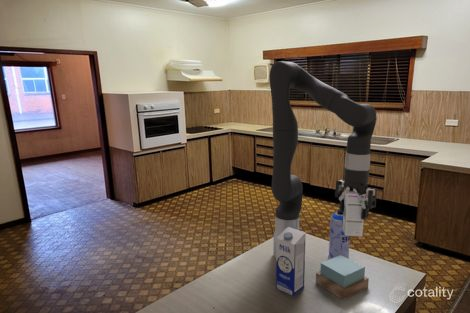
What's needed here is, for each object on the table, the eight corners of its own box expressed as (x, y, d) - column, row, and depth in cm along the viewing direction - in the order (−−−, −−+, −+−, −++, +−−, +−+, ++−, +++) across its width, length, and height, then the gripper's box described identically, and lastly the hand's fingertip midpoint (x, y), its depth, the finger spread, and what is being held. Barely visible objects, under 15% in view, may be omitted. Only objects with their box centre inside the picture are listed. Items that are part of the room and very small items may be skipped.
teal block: (320, 273, 113) (320, 262, 112) (340, 265, 118) (340, 254, 117) (343, 287, 105) (344, 276, 104) (364, 278, 110) (364, 267, 109)
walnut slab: (315, 283, 114) (316, 272, 114) (339, 273, 121) (340, 263, 120) (343, 301, 104) (344, 289, 104) (367, 289, 110) (368, 278, 110)
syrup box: (362, 237, 107) (366, 194, 104) (343, 235, 108) (347, 192, 105) (359, 229, 112) (363, 188, 110) (341, 228, 114) (344, 187, 111)
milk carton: (304, 287, 111) (306, 231, 107) (293, 296, 106) (294, 238, 102) (286, 280, 116) (287, 226, 112) (275, 288, 111) (276, 232, 107)
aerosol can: (339, 265, 125) (342, 215, 121) (323, 256, 132) (325, 209, 128) (353, 259, 129) (356, 210, 126) (337, 251, 136) (339, 205, 132)
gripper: (331, 164, 110) (328, 210, 113) (369, 173, 98) (364, 224, 101) (346, 161, 114) (343, 206, 117) (384, 169, 102) (379, 219, 105)
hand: (353, 214), depth 109 cm, fingers closed on syrup box, 8 cm apart
